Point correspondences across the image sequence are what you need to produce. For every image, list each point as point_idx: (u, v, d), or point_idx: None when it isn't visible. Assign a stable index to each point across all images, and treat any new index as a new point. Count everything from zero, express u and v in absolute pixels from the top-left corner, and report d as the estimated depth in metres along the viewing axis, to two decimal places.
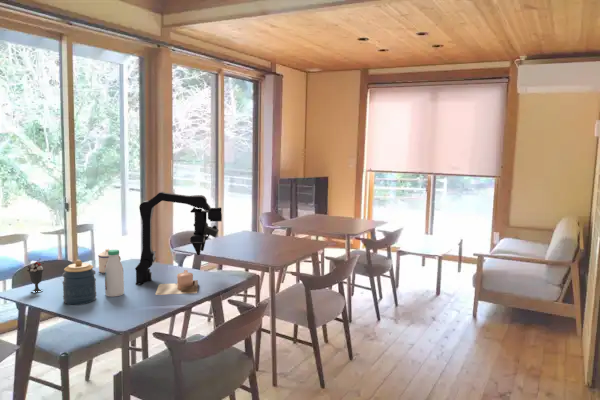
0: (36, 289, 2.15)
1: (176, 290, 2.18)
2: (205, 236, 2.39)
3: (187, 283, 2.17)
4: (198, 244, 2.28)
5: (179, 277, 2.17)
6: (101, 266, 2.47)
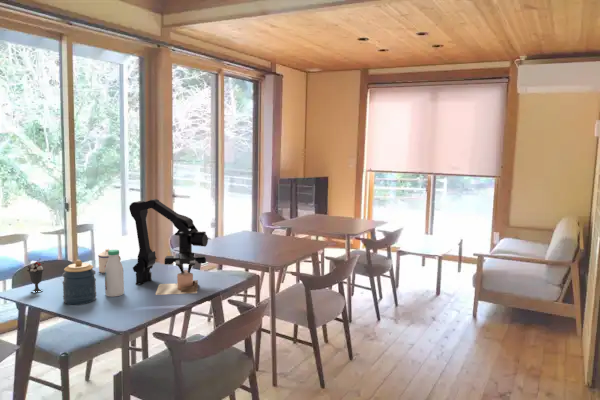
0: (36, 289, 2.15)
1: (176, 290, 2.18)
2: (189, 263, 2.24)
3: (187, 283, 2.17)
4: None
5: (179, 277, 2.17)
6: (101, 266, 2.47)
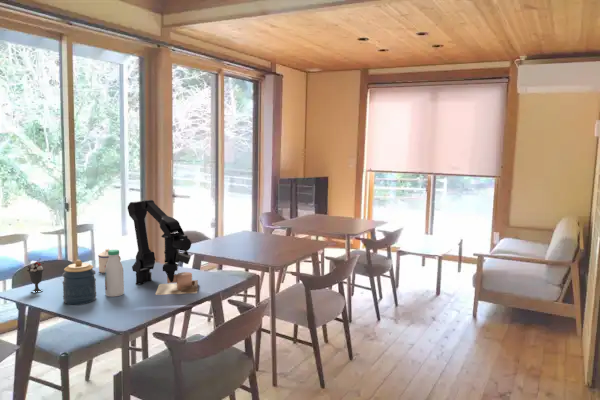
0: (36, 289, 2.15)
1: (176, 290, 2.18)
2: None
3: None
4: (171, 270, 2.17)
5: (189, 276, 2.18)
6: (101, 266, 2.47)
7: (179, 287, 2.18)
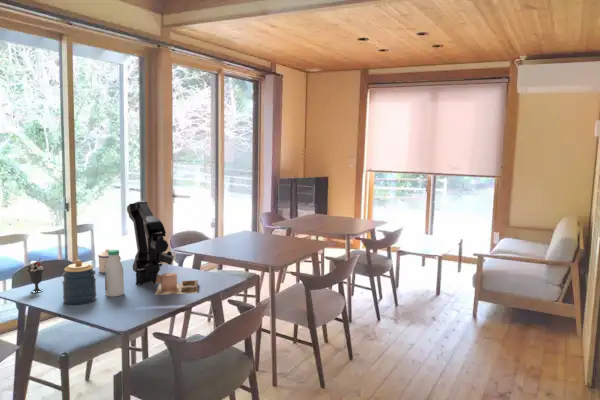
0: (36, 289, 2.15)
1: (176, 290, 2.18)
2: None
3: None
4: (153, 272, 2.14)
5: (174, 277, 2.17)
6: (101, 266, 2.47)
7: (163, 288, 2.16)
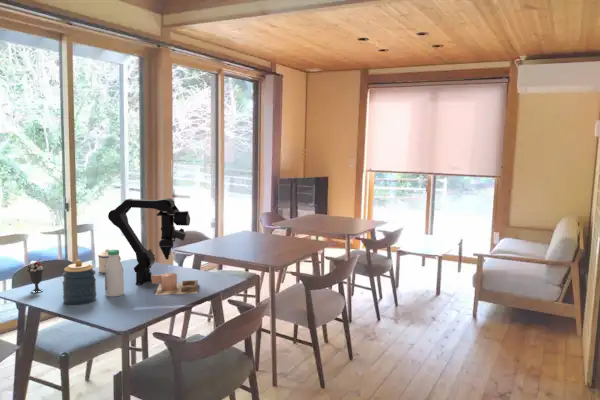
0: (36, 289, 2.15)
1: (176, 290, 2.18)
2: None
3: None
4: (167, 248, 2.23)
5: (174, 277, 2.17)
6: (101, 266, 2.47)
7: (163, 288, 2.16)
